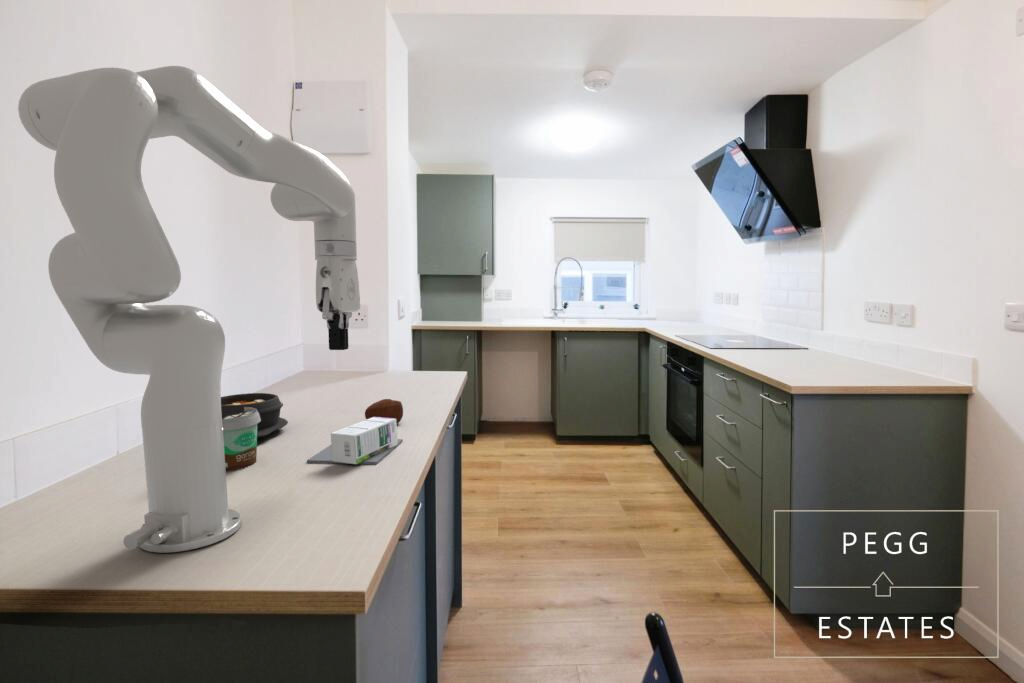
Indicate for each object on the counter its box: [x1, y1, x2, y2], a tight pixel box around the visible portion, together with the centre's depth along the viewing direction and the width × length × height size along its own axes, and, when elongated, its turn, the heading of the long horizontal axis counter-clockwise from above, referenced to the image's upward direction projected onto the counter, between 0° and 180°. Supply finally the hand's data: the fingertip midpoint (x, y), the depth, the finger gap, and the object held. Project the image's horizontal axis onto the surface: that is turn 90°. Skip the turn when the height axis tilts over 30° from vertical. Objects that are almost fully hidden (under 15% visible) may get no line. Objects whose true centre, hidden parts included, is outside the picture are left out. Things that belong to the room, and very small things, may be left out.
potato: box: [364, 398, 404, 425], centre depth 141 cm, size 7×9×6 cm
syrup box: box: [330, 417, 399, 465], centre depth 116 cm, size 6×6×14 cm
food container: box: [222, 407, 261, 472], centre depth 111 cm, size 12×6×10 cm, turn 168°
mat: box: [306, 438, 404, 465], centre depth 119 cm, size 16×14×1 cm
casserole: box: [221, 392, 289, 439], centre depth 135 cm, size 25×19×8 cm
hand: (338, 349), depth 110 cm, fingers closed
